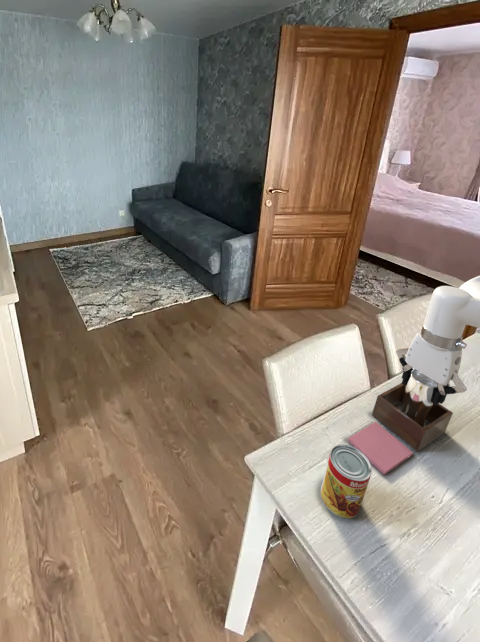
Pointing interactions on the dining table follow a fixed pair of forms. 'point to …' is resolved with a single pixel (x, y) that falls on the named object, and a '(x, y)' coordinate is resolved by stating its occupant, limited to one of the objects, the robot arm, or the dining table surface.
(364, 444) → the mat
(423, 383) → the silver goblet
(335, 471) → the canned food
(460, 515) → the dining table surface
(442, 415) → the brown wooden box
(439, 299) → the robot arm
